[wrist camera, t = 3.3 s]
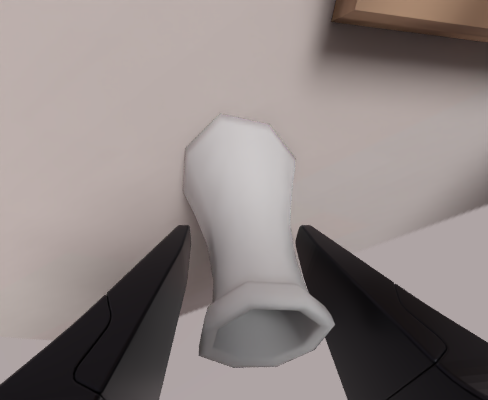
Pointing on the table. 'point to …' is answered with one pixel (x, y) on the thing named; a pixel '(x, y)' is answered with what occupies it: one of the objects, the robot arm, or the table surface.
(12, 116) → the table surface
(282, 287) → the flask
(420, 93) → the table surface
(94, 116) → the table surface
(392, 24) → the tray
